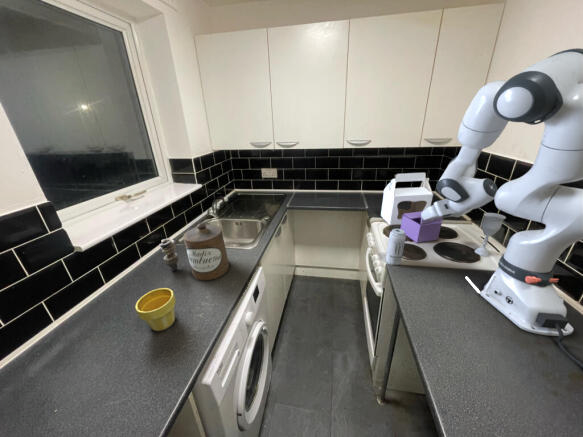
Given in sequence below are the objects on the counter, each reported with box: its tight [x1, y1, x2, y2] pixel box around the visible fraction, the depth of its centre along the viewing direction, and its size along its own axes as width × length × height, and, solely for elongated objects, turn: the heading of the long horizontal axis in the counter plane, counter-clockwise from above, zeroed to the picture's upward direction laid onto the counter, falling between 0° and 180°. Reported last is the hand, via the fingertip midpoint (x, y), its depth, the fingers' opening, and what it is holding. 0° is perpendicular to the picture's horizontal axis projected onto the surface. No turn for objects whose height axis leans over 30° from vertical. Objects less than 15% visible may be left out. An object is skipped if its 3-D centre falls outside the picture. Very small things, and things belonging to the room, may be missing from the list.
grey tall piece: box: [159, 238, 179, 272], centre depth 96 cm, size 6×6×15 cm
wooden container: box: [182, 222, 230, 281], centre depth 94 cm, size 15×15×22 cm
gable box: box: [380, 172, 434, 226], centre depth 132 cm, size 22×13×28 cm, turn 92°
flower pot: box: [134, 287, 177, 332], centre depth 71 cm, size 10×10×10 cm
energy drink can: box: [385, 228, 407, 266], centre depth 96 cm, size 6×6×15 cm
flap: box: [421, 211, 444, 224], centre depth 109 cm, size 6×12×1 cm
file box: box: [399, 211, 443, 244], centre depth 117 cm, size 13×12×10 cm
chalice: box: [474, 212, 507, 257], centre depth 99 cm, size 7×7×18 cm
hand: (432, 218), depth 108 cm, fingers closed, pressing on flap
